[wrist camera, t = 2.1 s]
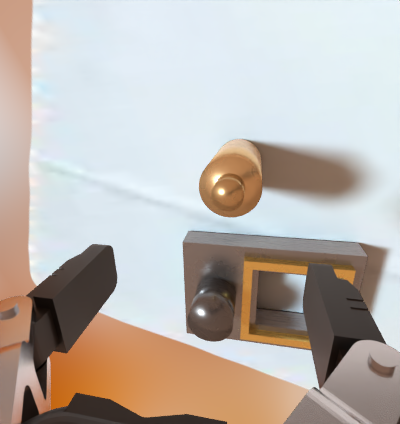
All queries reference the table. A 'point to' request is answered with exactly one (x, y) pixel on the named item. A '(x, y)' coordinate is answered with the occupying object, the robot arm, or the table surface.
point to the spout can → (232, 179)
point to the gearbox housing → (254, 283)
